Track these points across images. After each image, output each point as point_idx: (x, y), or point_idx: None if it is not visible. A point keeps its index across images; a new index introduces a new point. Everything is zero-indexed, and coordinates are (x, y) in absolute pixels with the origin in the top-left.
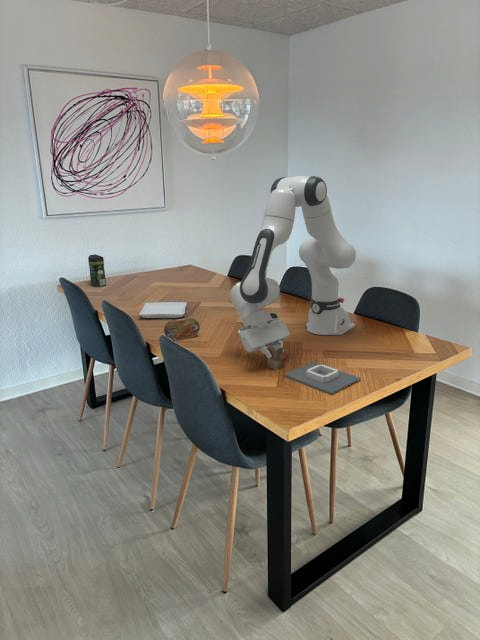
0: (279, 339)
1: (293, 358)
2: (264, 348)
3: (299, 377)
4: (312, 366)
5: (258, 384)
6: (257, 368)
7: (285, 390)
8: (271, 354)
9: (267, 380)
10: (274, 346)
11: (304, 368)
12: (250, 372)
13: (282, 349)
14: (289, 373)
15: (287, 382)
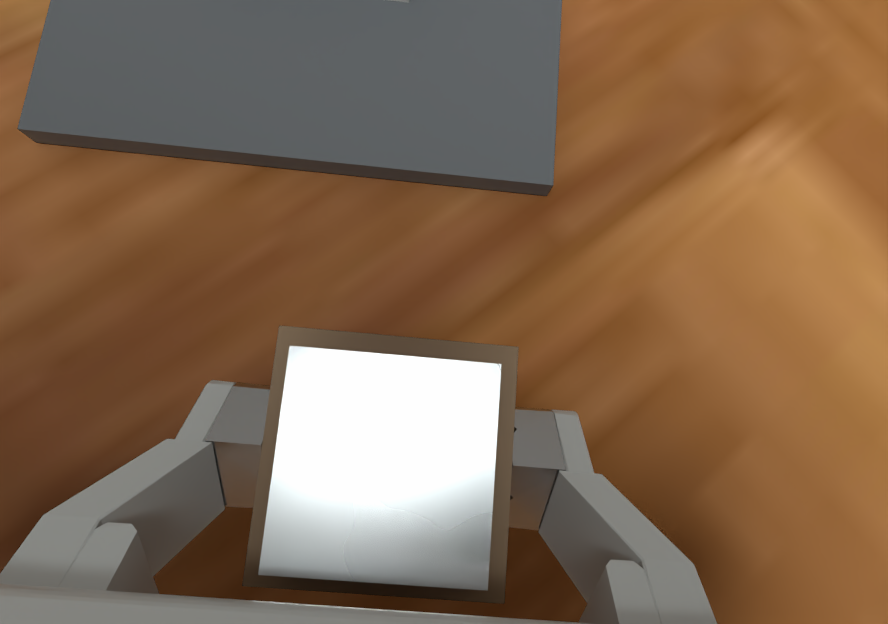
0: (51, 585)
1: (24, 430)
2: (675, 567)
3: (510, 25)
4: (168, 71)
5: (871, 276)
6: None
7: (771, 18)
8: (542, 424)
9: (741, 266)
10: (440, 451)
11: (275, 107)
12: (732, 556)
13: (315, 332)
14: (501, 153)
15: (633, 93)
